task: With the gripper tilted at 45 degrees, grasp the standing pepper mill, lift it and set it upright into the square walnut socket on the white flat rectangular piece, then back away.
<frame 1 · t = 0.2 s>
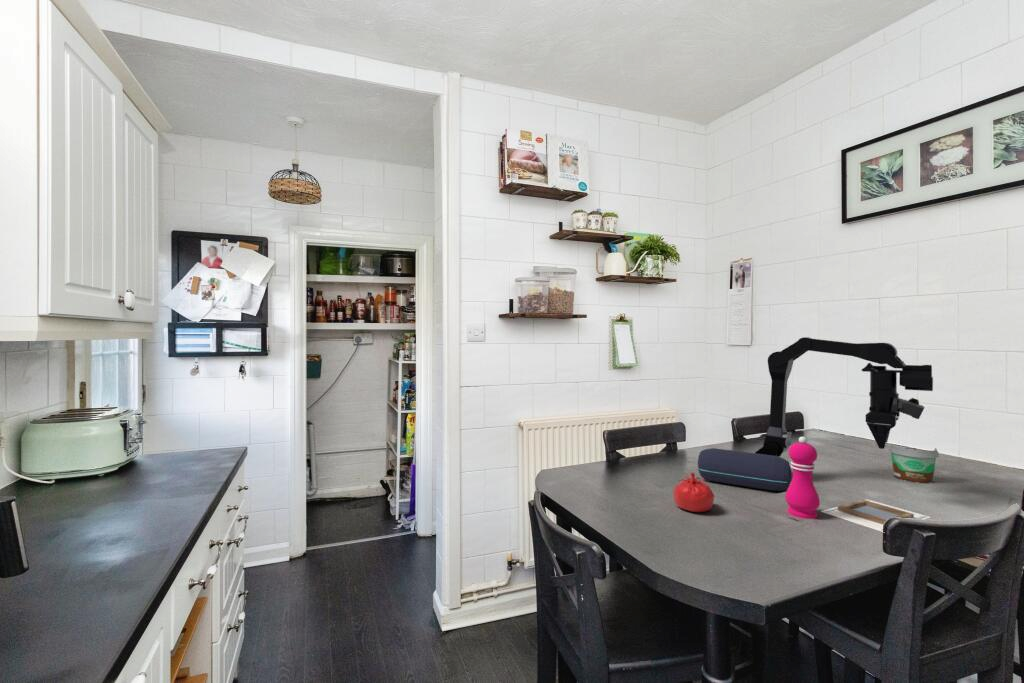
hand: (883, 445, 131), 15 cm above the table, tool pointing down, fingers open, 9 cm apart
pepper mill: (802, 518, 117), on the table
walnut socket: (874, 514, 117), resting on white flat rectangular piece
white flat rectangular piece: (874, 518, 117), on the table
food container: (916, 481, 146), on the table
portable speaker: (742, 486, 143), on the table
pomegranate: (693, 509, 123), on the table
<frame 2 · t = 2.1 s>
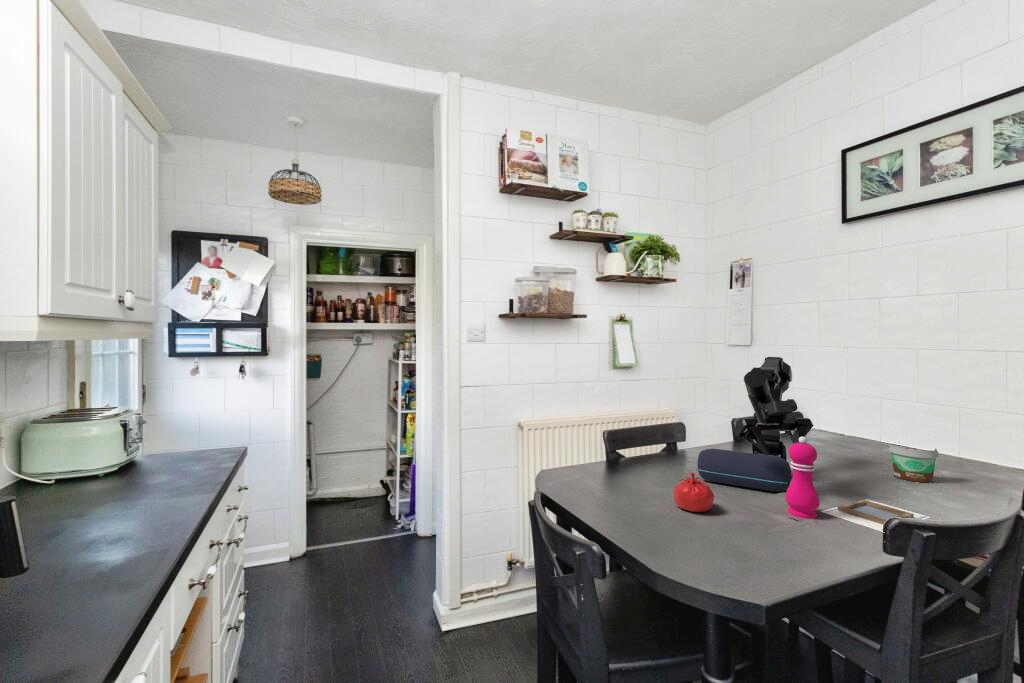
hand: (785, 454, 125), 13 cm above the table, tool tilted 45°, fingers open, 9 cm apart
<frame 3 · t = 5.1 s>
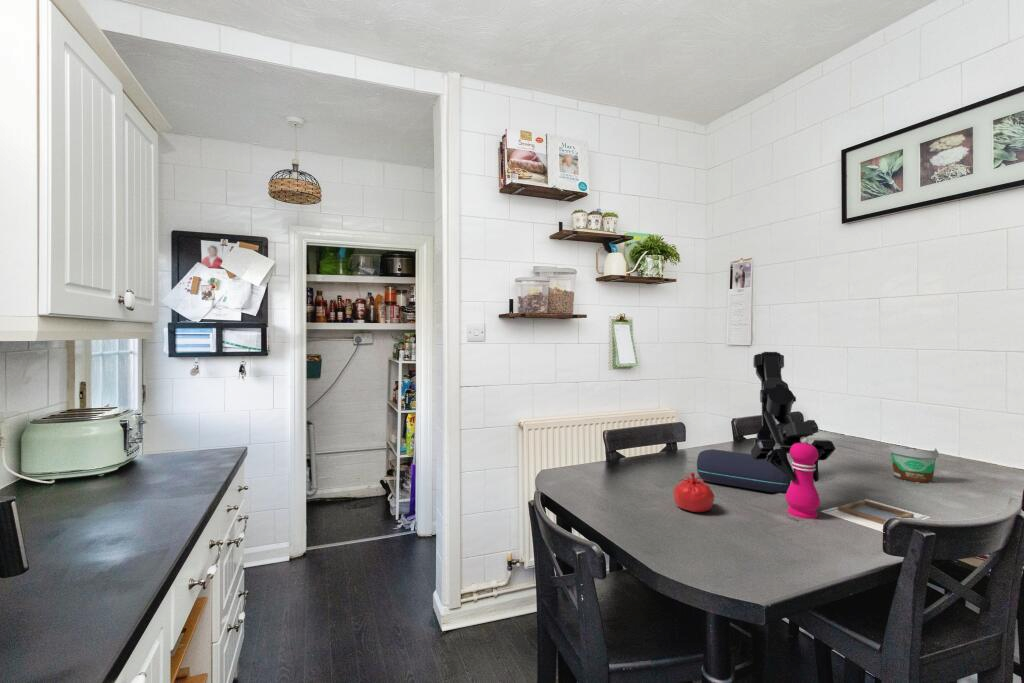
hand: (805, 480, 116), 10 cm above the table, tool tilted 45°, fingers closed on pepper mill, 5 cm apart
pepper mill: (802, 518, 117), on the table, touching gripper
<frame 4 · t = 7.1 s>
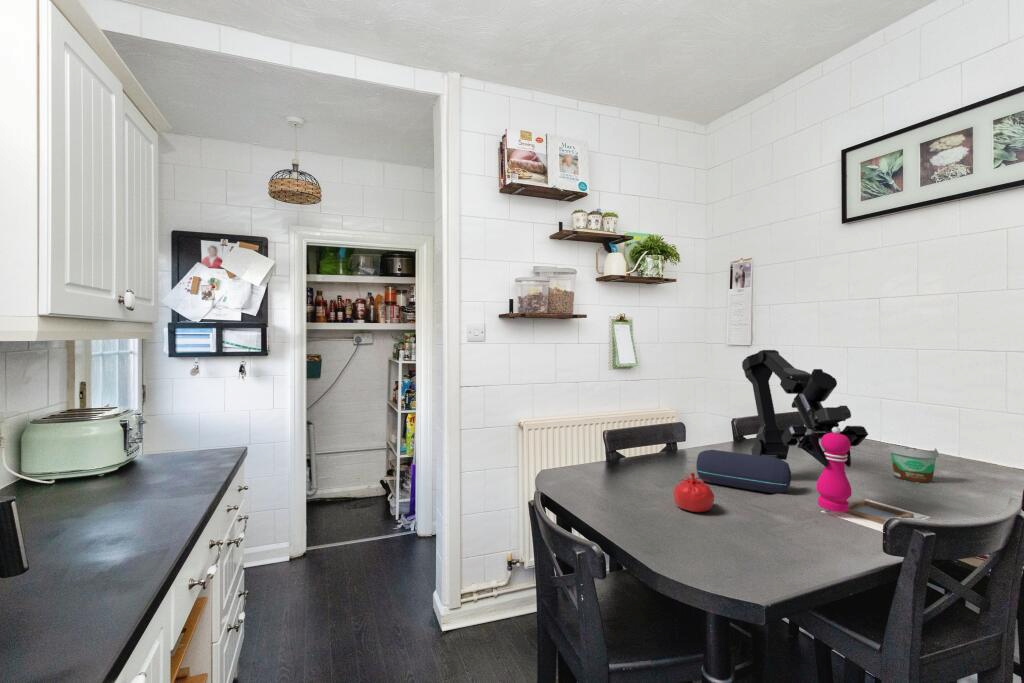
hand: (838, 465, 116), 13 cm above the table, tool tilted 45°, fingers closed on pepper mill, 5 cm apart
pepper mill: (832, 507, 118), point 2 cm above the table, touching gripper
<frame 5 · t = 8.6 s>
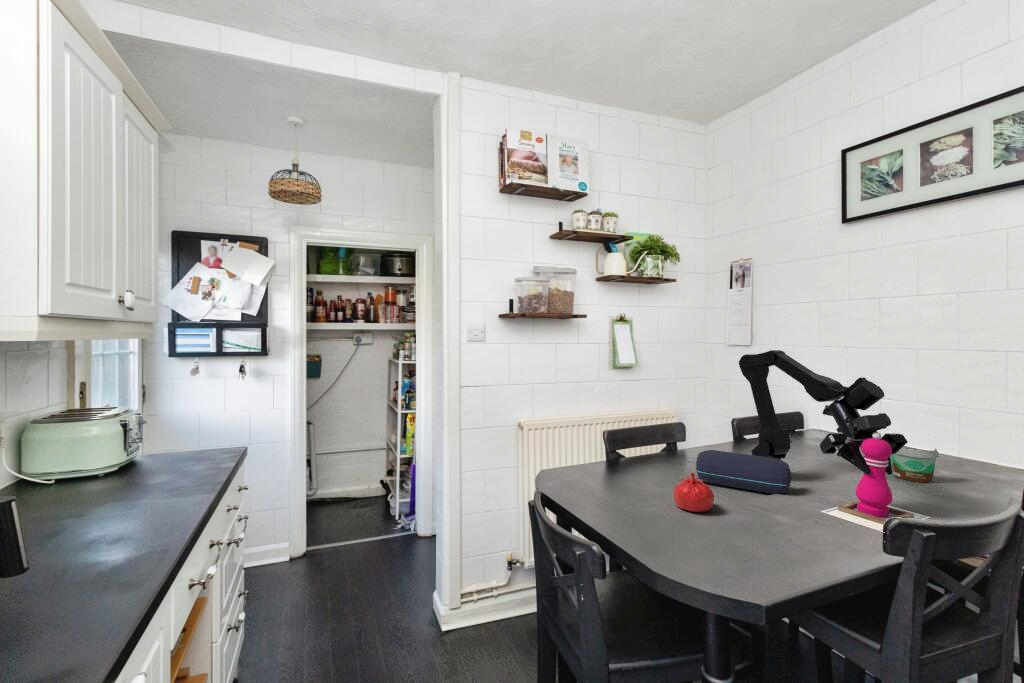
hand: (879, 473, 115), 11 cm above the table, tool tilted 45°, fingers closed on pepper mill, 5 cm apart
pepper mill: (872, 513, 117), point 1 cm above the table, touching white flat rectangular piece, gripper
when the fingers open (11 cm above the table, at t = 9.3 s): pepper mill stays where it is, resting on white flat rectangular piece.
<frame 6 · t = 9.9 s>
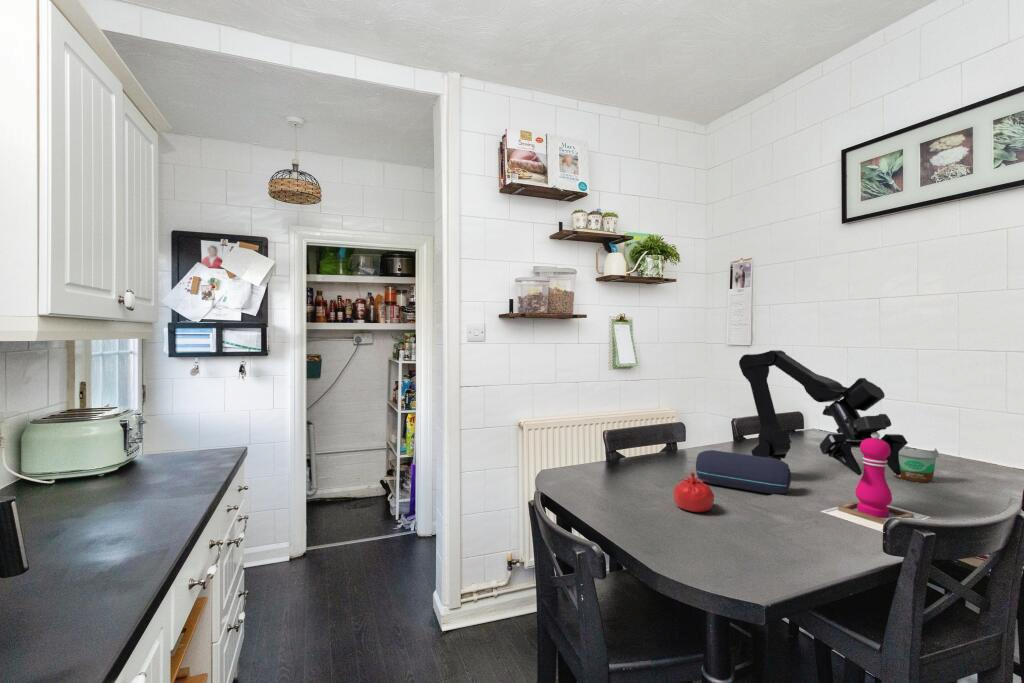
hand: (879, 474, 115), 11 cm above the table, tool tilted 45°, fingers open, 9 cm apart
pepper mill: (872, 513, 117), point 1 cm above the table, touching white flat rectangular piece, gripper
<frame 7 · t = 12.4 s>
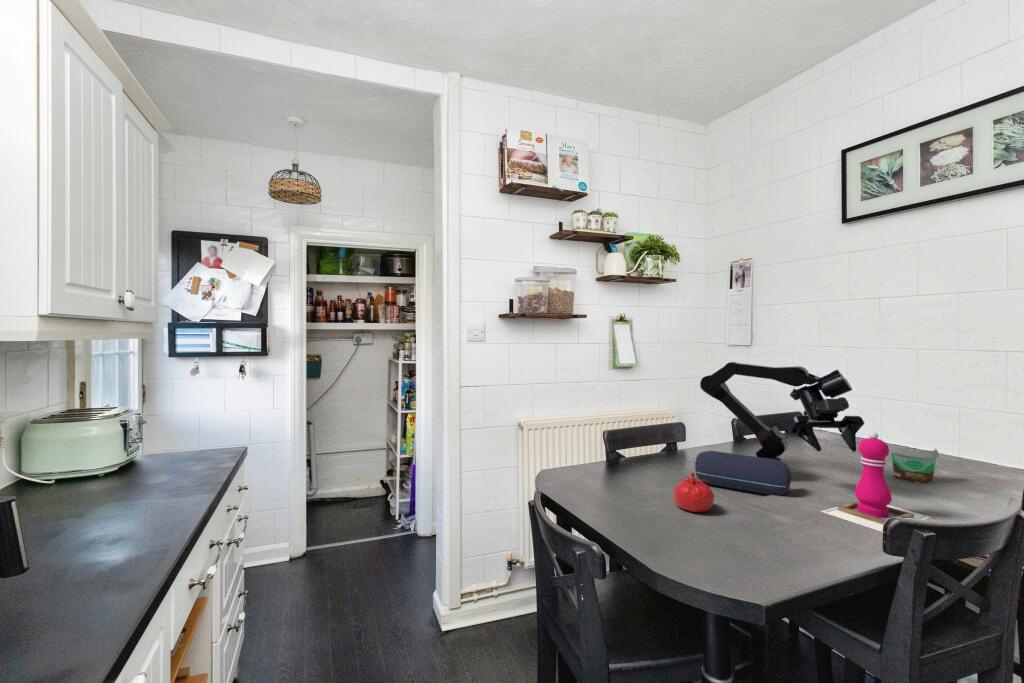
hand: (837, 450, 130), 13 cm above the table, tool tilted 45°, fingers open, 9 cm apart
pepper mill: (872, 513, 117), point 1 cm above the table, touching white flat rectangular piece
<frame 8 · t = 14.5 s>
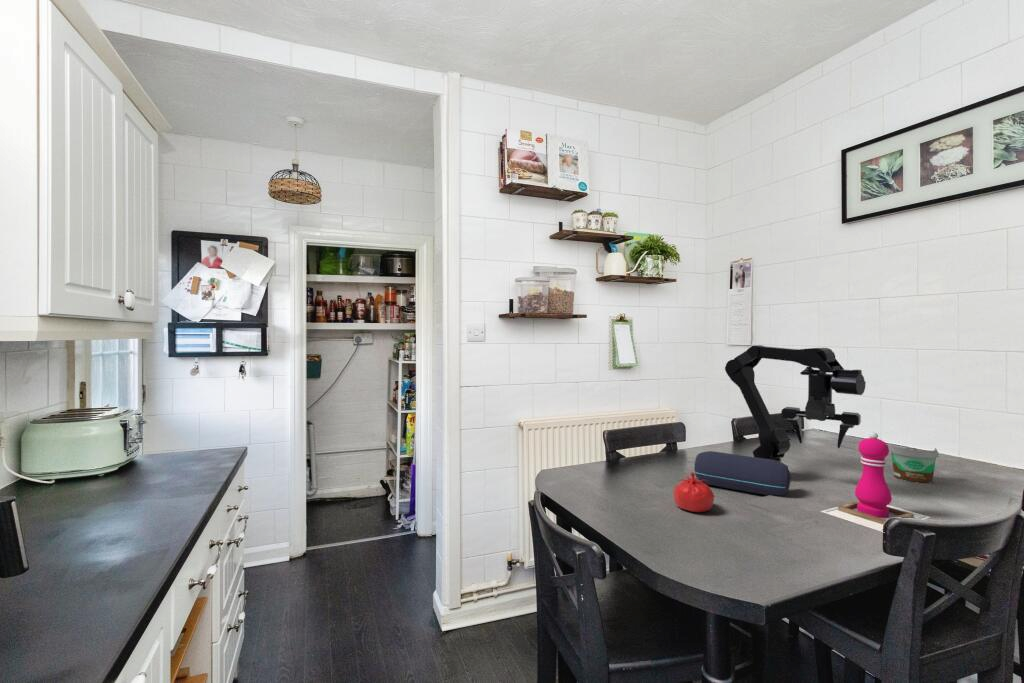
hand: (819, 445, 137), 13 cm above the table, tool pointing down, fingers open, 9 cm apart
at the end: pepper mill 0.5 cm off-centre on the white flat rectangular piece, point 0.9 cm above the white flat rectangular piece's base; pepper mill tilted 0°; the gripper is holding nothing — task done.
